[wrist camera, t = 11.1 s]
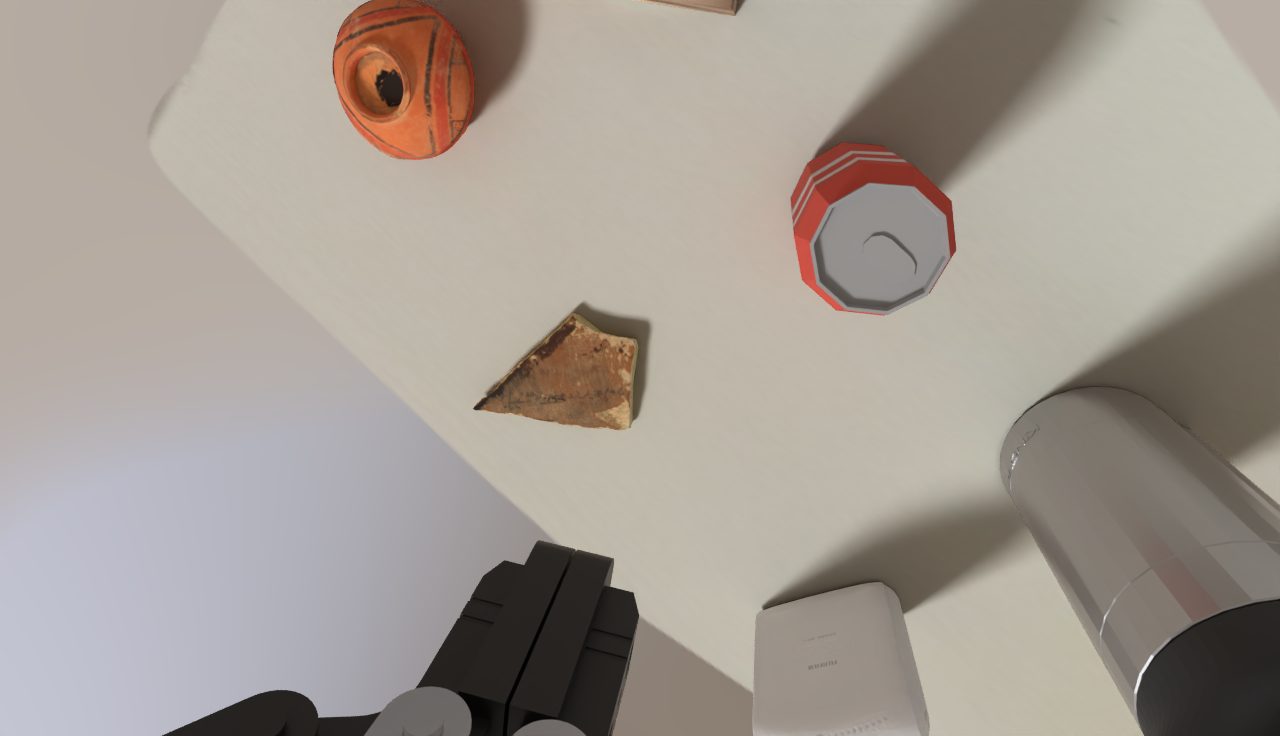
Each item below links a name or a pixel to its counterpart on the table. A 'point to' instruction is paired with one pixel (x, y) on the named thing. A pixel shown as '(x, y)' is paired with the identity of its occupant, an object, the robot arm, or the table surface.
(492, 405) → the shard
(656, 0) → the tan wooden frame
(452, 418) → the table surface
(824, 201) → the beverage can
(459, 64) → the pot
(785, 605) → the photo printer
